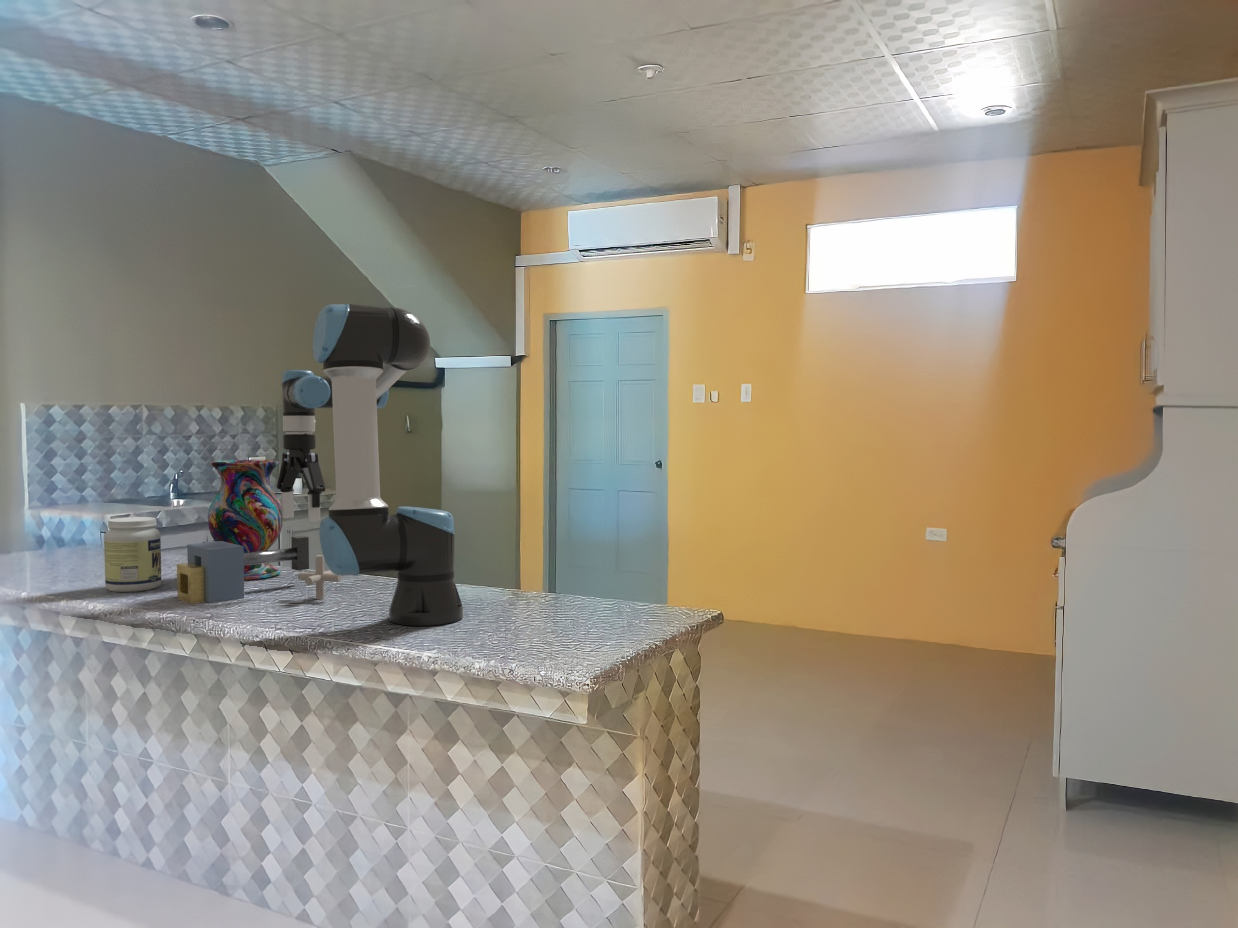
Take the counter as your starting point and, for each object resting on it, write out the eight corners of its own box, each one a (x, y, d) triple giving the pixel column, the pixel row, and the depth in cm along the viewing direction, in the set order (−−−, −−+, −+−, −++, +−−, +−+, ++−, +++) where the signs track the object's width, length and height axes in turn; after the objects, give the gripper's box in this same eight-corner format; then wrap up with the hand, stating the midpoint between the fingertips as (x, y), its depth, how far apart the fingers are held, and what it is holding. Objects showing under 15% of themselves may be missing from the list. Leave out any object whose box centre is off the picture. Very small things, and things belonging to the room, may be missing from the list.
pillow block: (244, 597, 215) (243, 546, 215) (209, 602, 210) (208, 549, 209) (222, 590, 224) (221, 540, 223) (188, 595, 218) (187, 544, 217)
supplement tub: (159, 591, 223) (158, 520, 222) (101, 594, 219) (99, 522, 218) (163, 582, 234) (162, 515, 233) (108, 585, 230) (107, 517, 229)
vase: (240, 584, 232) (238, 464, 230) (193, 577, 241) (191, 461, 239) (299, 573, 248) (297, 461, 246) (252, 567, 257) (251, 458, 255)
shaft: (309, 569, 231) (308, 537, 231) (215, 580, 215) (214, 546, 215) (303, 567, 234) (302, 535, 233) (210, 578, 217) (209, 544, 217)
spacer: (205, 601, 211) (204, 566, 211) (191, 603, 209) (190, 568, 209) (190, 596, 217) (190, 562, 216) (177, 598, 215) (176, 564, 214)
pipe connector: (329, 604, 209) (328, 559, 208) (288, 602, 211) (288, 558, 210) (350, 595, 219) (350, 553, 218) (311, 593, 221) (311, 551, 220)
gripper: (338, 433, 224) (340, 521, 224) (290, 433, 241) (291, 515, 242) (309, 433, 218) (311, 523, 219) (261, 433, 236) (263, 517, 236)
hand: (301, 519), depth 230 cm, fingers open, 13 cm apart
